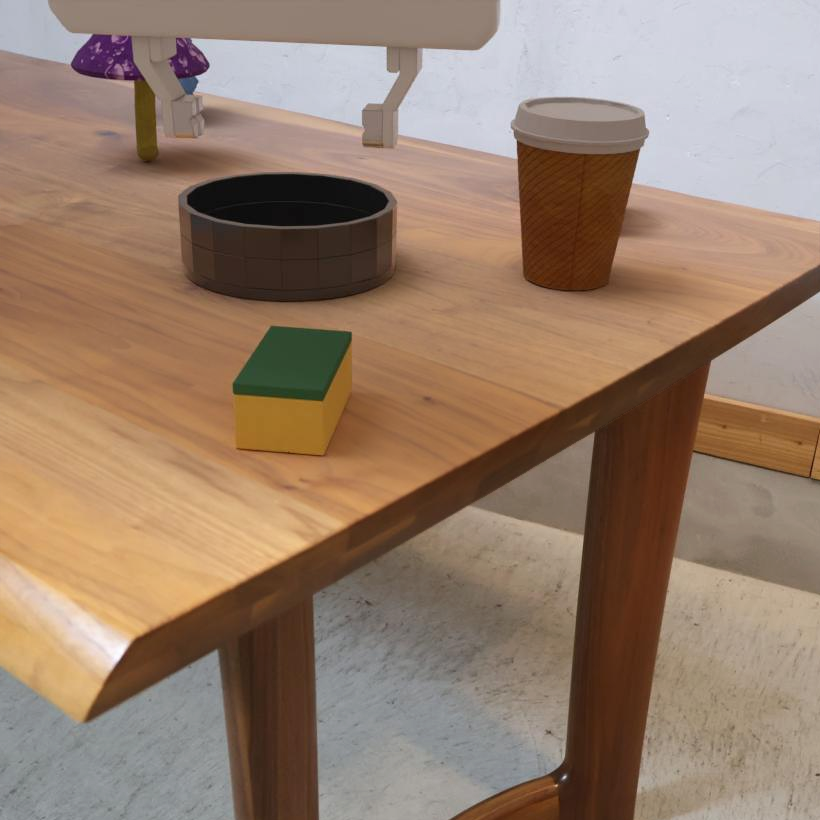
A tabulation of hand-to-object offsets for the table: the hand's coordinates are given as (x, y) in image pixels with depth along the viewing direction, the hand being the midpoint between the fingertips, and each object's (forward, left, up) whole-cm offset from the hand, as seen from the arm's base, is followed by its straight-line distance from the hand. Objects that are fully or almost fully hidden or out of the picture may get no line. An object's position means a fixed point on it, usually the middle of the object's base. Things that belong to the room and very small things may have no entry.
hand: (282, 141), depth 55 cm
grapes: (-30, +74, -15) cm, 81 cm away
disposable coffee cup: (+14, +27, -15) cm, 34 cm away
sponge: (0, 0, -14) cm, 15 cm away
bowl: (-6, +25, -14) cm, 29 cm away
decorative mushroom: (-26, +53, -15) cm, 60 cm away
